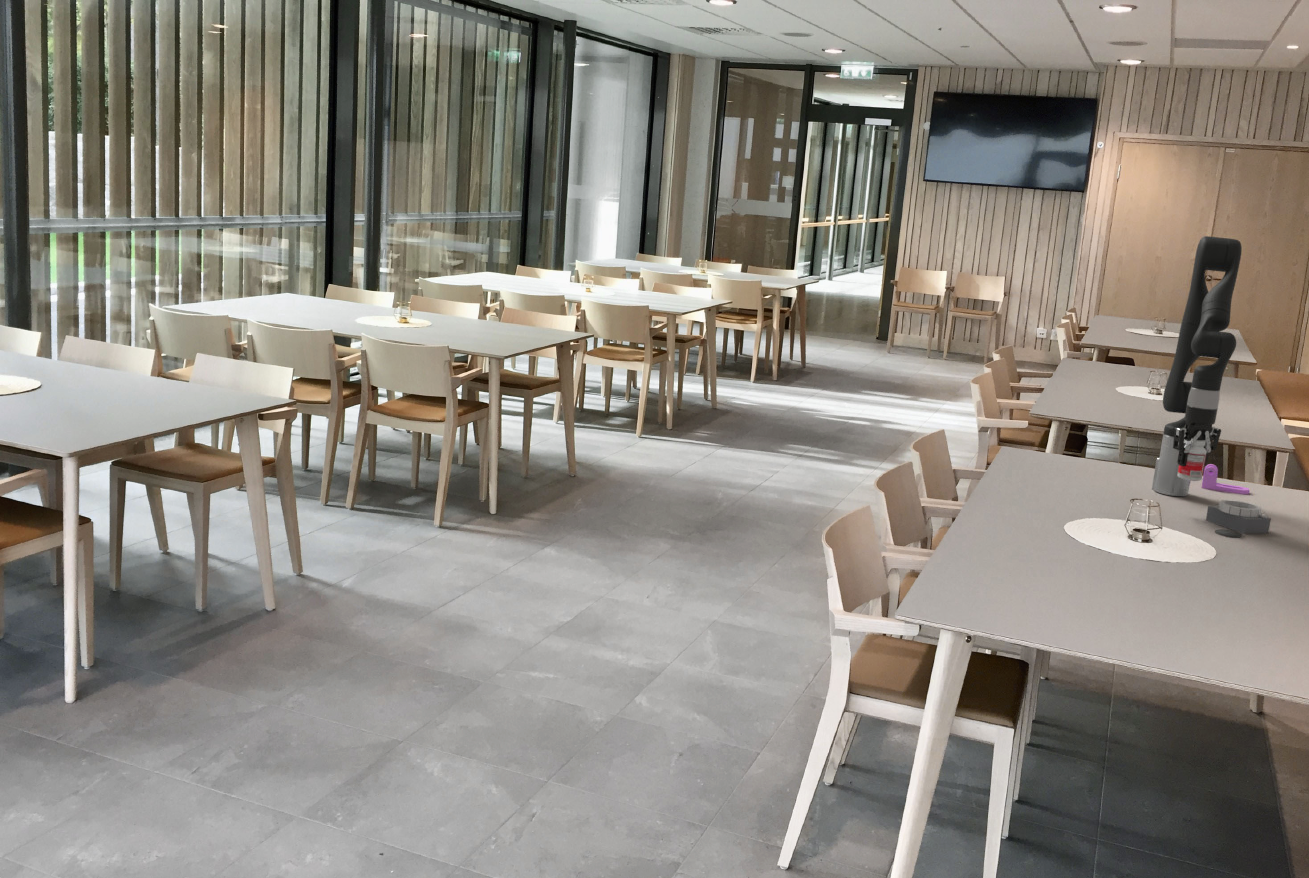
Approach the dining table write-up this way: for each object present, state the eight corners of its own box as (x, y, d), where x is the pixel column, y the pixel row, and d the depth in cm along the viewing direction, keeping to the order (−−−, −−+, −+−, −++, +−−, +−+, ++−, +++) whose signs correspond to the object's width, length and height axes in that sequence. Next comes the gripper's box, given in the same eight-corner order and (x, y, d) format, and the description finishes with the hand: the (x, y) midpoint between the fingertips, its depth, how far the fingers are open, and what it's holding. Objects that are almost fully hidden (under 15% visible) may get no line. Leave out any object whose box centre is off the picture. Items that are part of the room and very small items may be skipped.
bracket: (1201, 488, 344) (1205, 466, 343) (1201, 485, 349) (1205, 463, 348) (1248, 495, 338) (1252, 473, 337) (1248, 492, 343) (1252, 469, 342)
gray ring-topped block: (1203, 520, 304) (1207, 498, 303) (1231, 519, 307) (1234, 497, 306) (1242, 534, 292) (1246, 511, 291) (1270, 532, 295) (1274, 510, 294)
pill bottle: (1183, 474, 311) (1190, 435, 309) (1205, 479, 307) (1213, 440, 304) (1172, 477, 307) (1179, 437, 305) (1194, 482, 303) (1202, 442, 300)
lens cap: (1208, 532, 293) (1209, 529, 293) (1227, 531, 295) (1228, 528, 295) (1228, 539, 287) (1228, 536, 287) (1247, 538, 289) (1248, 535, 289)
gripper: (1212, 402, 308) (1202, 461, 312) (1170, 402, 303) (1160, 462, 307) (1234, 408, 301) (1223, 468, 305) (1191, 408, 297) (1180, 469, 300)
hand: (1191, 465), depth 306 cm, fingers closed on pill bottle, 6 cm apart
